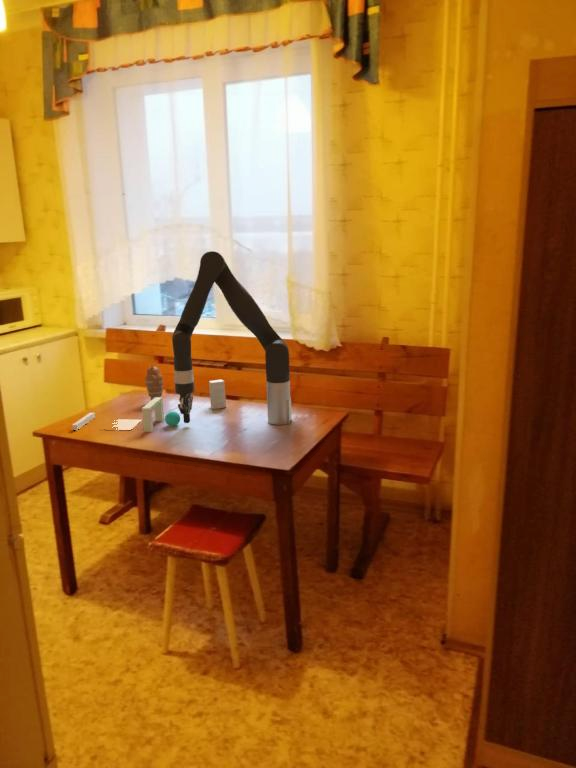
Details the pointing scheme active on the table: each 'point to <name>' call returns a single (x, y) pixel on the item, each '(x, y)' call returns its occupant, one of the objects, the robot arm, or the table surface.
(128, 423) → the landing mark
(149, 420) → the bridge
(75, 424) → the stopper
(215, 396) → the skincare box
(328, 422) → the table surface
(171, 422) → the ball
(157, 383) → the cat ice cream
